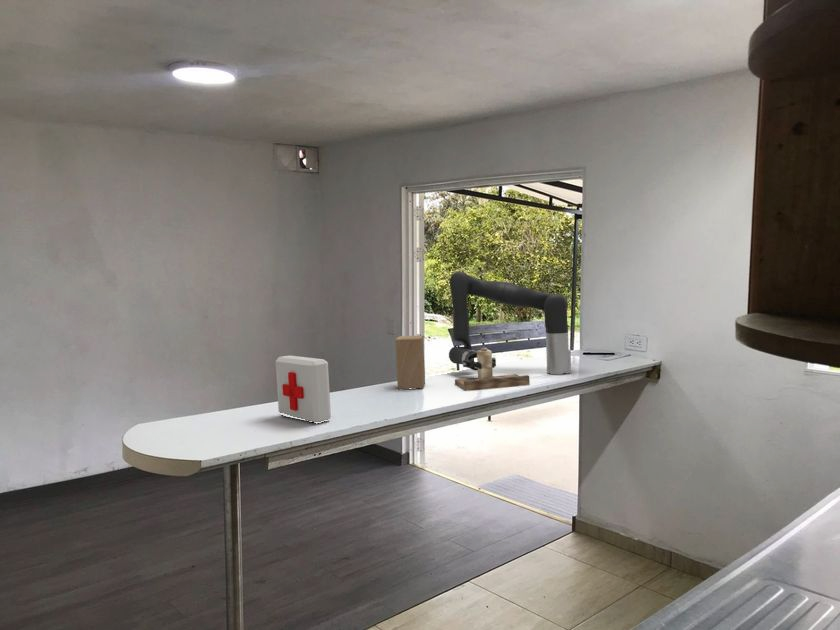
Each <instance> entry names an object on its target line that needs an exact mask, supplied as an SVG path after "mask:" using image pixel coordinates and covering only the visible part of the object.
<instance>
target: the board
mask: <svg viewBox="0 0 840 630" xmlns="http://www.w3.org/2000/svg"><path fill="white" fill-rule="evenodd" d="M454 385H455V386H456V385H457V387H458V386H459V387H458V388H460V389H462V390H463V389H464V390H463V391H465V392H467V390H469V391H479V390H490V389H499V388H501V389H502V388H510V387H520V386H519V385H523V386H530V385H531V383H530V375H527V374H526V375H525V374H524V375H519V374H517V373H516V374H514V373H513V374H503V375H493V378H490V379H479V380H478V377H470V378H469V377H468V378H458V379H454Z"/></svg>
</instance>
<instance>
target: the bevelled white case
mask: <svg viewBox="0 0 840 630" xmlns="http://www.w3.org/2000/svg"><path fill="white" fill-rule="evenodd" d="M275 371H276V373H275V374H276V387H277V388H276V390H277V391H276V392H277V405H278V408H277V409H278V413H279V412H280V413H284V414H287V415H290V416H293V417H297V418H301V419H305V420H308V421H312V422H321V421H324V420H328V419H329V420H330V419H331V418H332V411H331V396H330V395H331V393H330V380H329V379H330V378H329V377H330V376H329V362H328V361H327V360H325V359H322V358H316V357H315V358H314V357H308V356H307V357H306V356H297V355H284V356H283V355H282V356H278V357H277V359H276V360H275ZM329 420H328V421H329Z"/></svg>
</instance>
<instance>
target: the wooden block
mask: <svg viewBox="0 0 840 630" xmlns="http://www.w3.org/2000/svg"><path fill="white" fill-rule="evenodd" d="M424 349H425V347H424V336H423V335H400V336H398V337H396V338H395V357H396V358H395V359H396V361H395V362H396V376H397V377H396V378H397V379H396V380H397V390H399V389H403V390H410V389H409V388H420V389H419V390H423V389H424V387H425V385H426V371H425V369H426V368H425V350H424Z"/></svg>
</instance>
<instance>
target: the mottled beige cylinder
mask: <svg viewBox="0 0 840 630" xmlns="http://www.w3.org/2000/svg"><path fill="white" fill-rule="evenodd" d="M476 351H477V362H479V363H481V364H482V369H479V368H478V370H477V378H478V380H479V379H490V378H493V376H494V374H493V368H492V358H493V356H492V355H493V351H492V350H490V349H488V347H481V348H480V349H479V350H476Z"/></svg>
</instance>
